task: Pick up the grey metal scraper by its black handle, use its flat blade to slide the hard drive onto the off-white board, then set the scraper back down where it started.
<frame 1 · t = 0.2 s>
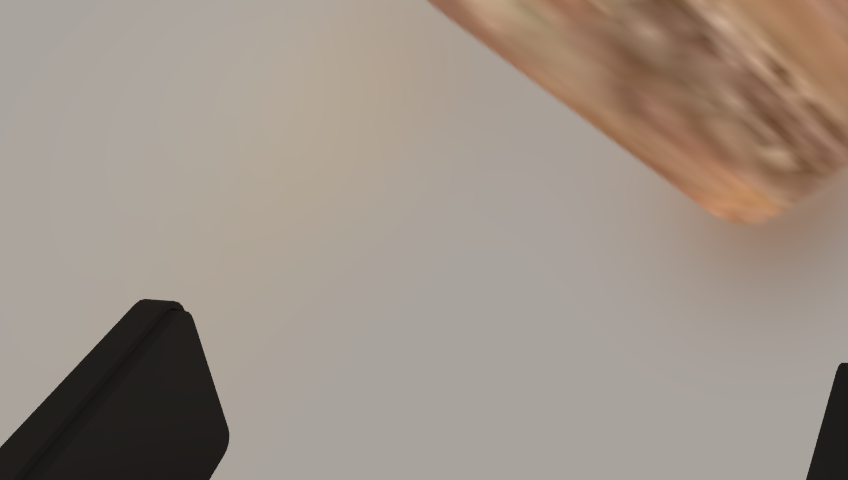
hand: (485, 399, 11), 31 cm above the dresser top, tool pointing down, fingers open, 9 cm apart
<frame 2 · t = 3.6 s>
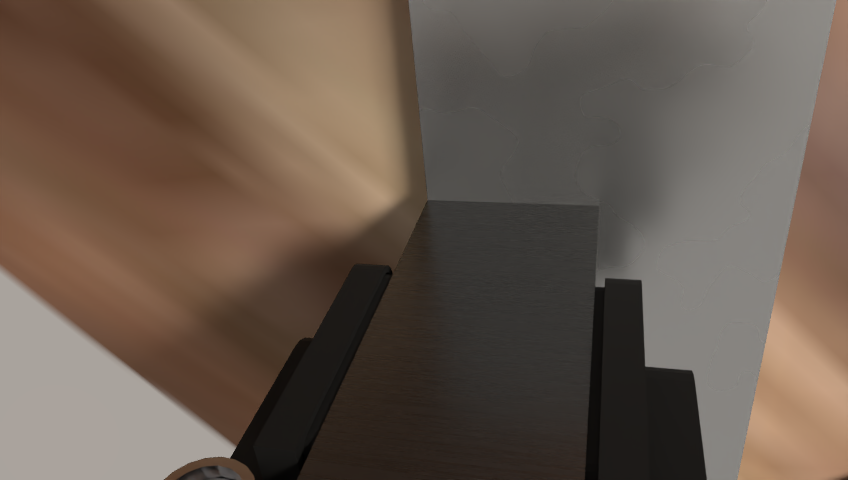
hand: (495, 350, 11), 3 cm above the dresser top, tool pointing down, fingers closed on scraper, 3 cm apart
scraper: (597, 249, 14), on the dresser top, touching gripper
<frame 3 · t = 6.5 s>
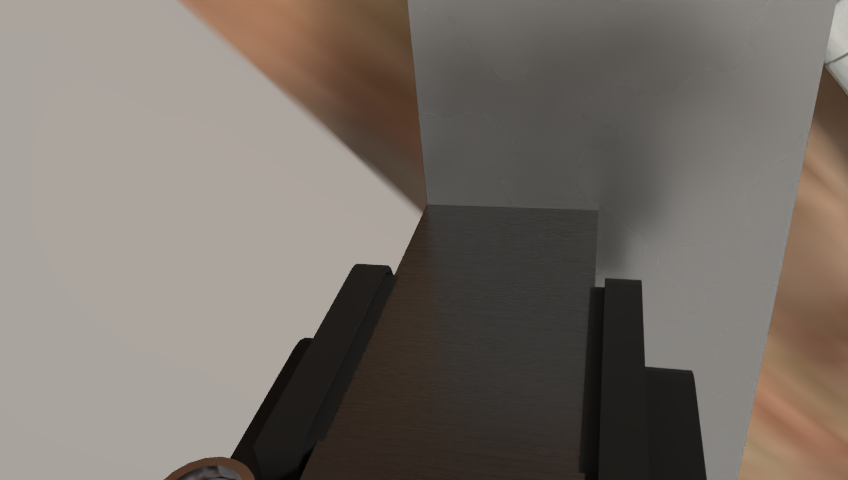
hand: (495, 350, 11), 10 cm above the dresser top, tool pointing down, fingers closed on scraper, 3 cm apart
scraper: (597, 253, 14), point 7 cm above the dresser top, touching gripper
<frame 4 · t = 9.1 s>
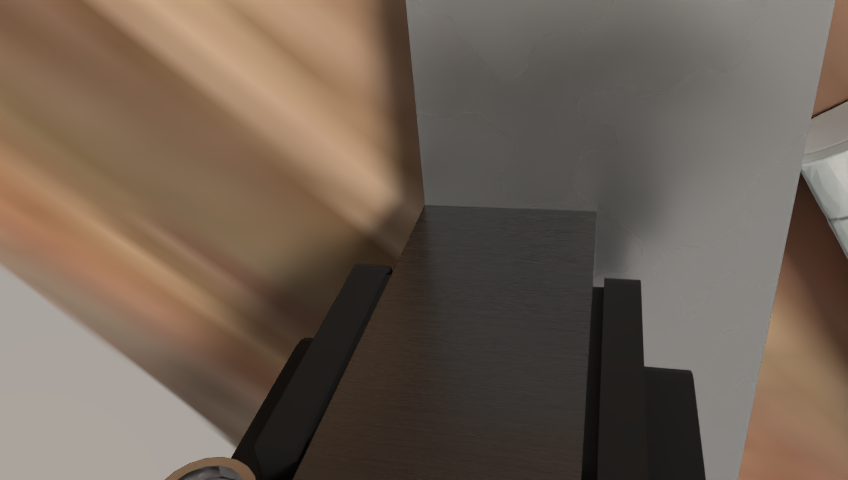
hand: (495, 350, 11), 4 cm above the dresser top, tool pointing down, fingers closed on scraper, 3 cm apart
scraper: (595, 254, 14), point 1 cm above the dresser top, touching gripper
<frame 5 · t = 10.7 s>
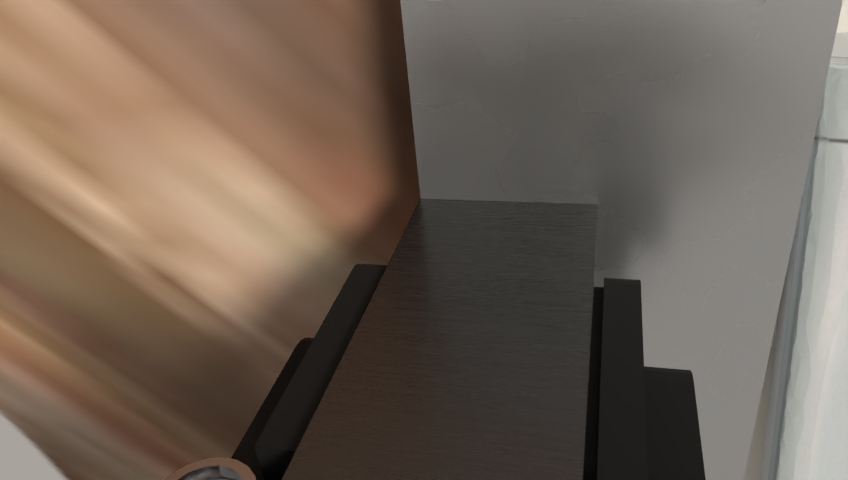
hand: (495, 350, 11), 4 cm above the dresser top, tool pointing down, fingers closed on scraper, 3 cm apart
scraper: (596, 249, 13), point 1 cm above the dresser top, touching gripper
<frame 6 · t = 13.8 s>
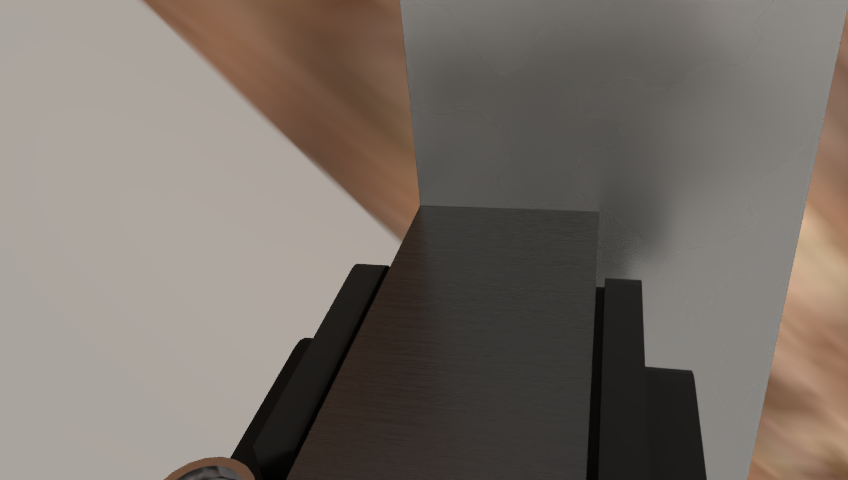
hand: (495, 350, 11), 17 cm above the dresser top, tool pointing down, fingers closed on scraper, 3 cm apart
scraper: (597, 256, 13), point 14 cm above the dresser top, touching gripper
when the fingers open (5 cm above the dresser top, at t = 16.5 s): scraper drops 2 cm, on the dresser top.
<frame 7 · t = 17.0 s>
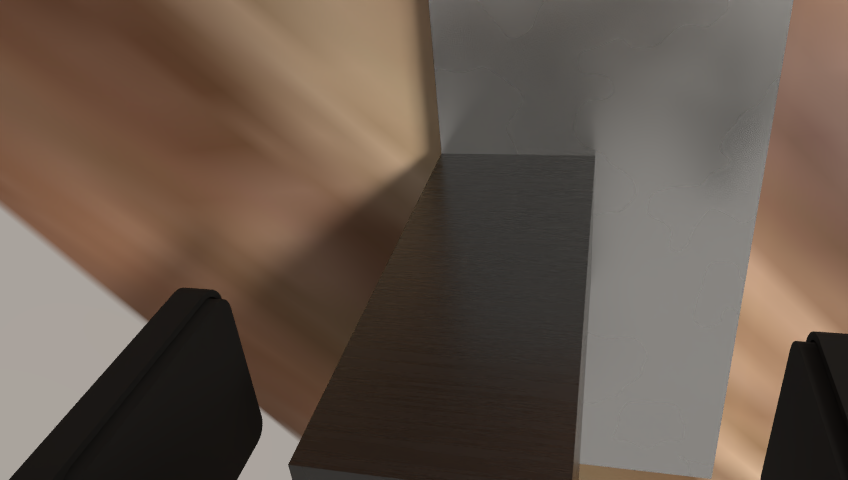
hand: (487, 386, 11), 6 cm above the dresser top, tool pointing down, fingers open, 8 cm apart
scraper: (594, 200, 15), on the dresser top
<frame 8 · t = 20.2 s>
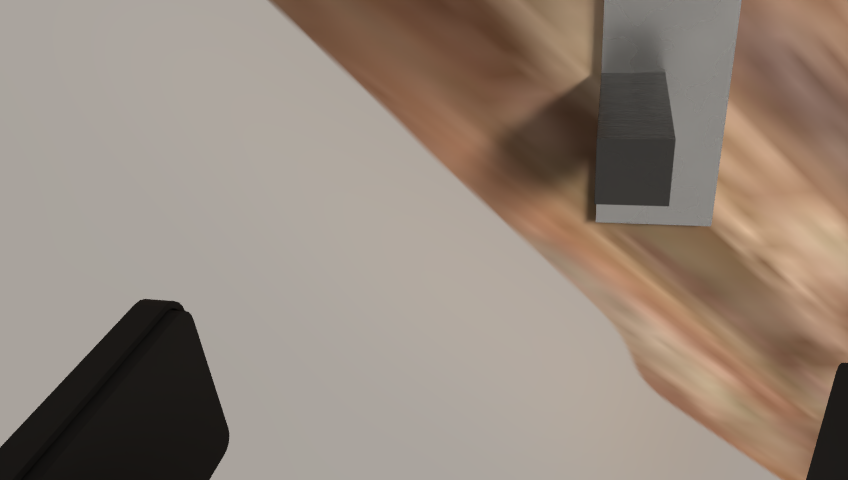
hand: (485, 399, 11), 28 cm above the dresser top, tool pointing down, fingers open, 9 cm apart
scraper: (661, 94, 36), on the dresser top
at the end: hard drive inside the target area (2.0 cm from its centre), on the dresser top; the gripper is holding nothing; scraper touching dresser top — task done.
